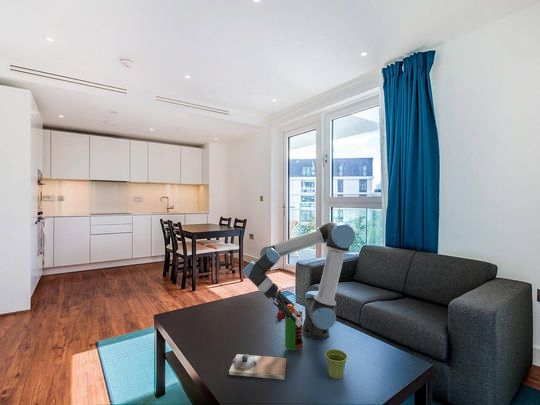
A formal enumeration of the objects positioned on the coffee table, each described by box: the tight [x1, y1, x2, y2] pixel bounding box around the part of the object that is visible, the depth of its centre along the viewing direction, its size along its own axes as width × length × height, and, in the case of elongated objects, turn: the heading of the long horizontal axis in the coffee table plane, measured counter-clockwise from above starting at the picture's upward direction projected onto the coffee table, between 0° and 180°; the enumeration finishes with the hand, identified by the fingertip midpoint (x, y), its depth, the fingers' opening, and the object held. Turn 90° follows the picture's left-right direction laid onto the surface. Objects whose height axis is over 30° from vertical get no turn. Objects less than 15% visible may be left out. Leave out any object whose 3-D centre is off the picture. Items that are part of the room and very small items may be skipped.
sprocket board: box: [228, 353, 287, 380], centre depth 125 cm, size 24×13×4 cm, turn 82°
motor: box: [284, 304, 304, 351], centre depth 138 cm, size 10×9×20 cm
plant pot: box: [324, 348, 348, 380], centre depth 120 cm, size 9×9×9 cm
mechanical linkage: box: [276, 309, 285, 321], centre depth 179 cm, size 16×7×5 cm, turn 156°
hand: (300, 321), depth 138 cm, fingers closed on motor, 7 cm apart
